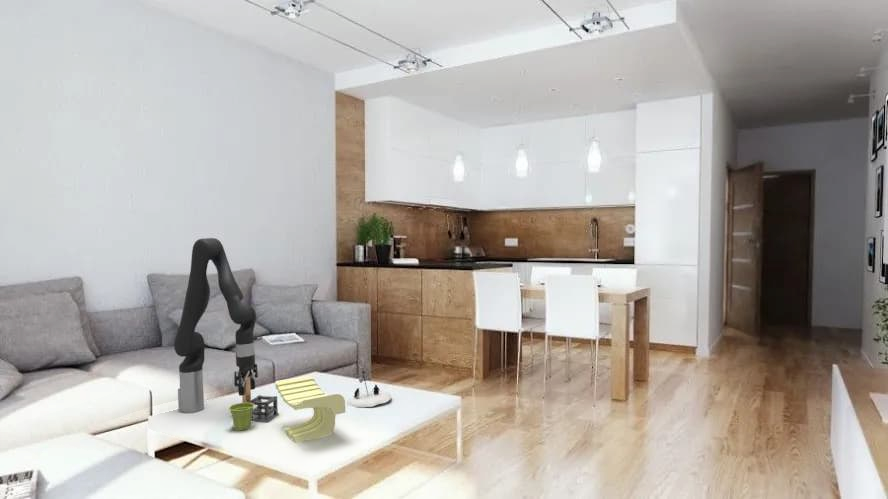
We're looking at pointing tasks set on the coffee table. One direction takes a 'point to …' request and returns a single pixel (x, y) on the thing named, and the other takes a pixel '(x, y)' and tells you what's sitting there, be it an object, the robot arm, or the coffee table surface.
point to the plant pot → (241, 415)
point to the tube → (247, 391)
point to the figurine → (368, 395)
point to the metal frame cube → (269, 410)
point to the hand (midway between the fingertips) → (247, 392)
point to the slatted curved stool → (310, 396)
